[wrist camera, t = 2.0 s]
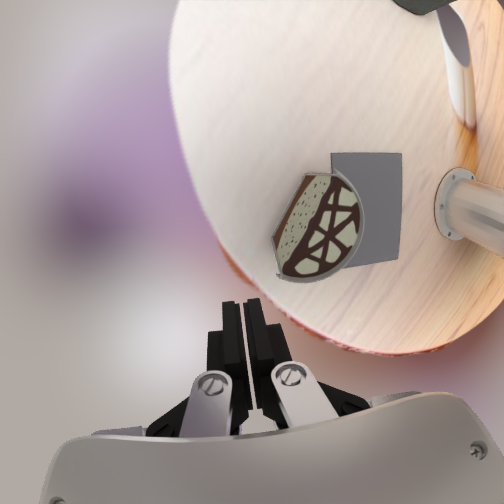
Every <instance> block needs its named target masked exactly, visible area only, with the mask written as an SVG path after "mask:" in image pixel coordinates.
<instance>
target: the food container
mask: <svg viewBox="0 0 504 504" xmlns="http://www.w3.org/2000/svg"><path fill="white" fill-rule="evenodd" d="M334 170H335V171H336V172H337V174H318V173H305V175H304V177H303V179H302V180H301V182H300V184H299V186H298V188H297V190H296V192H295V194H294V196H293V198H292V199H291V201H290V203H289V205H288V207H287V209H286V211H285V213H284V215H283V216H282V218H281V220H280V222H279V224H278V226H277V228H276V230H275V232H274V233H273V235H272V237H271V240H272V243H273V247H274V251H275V255H276V259H277V263H278V267H279V271H280V274H276V275H277V276H278V277H279V278H280V279H282V280H286V281H289V282H294V283H311V282H316V281H320V280H323V279H325V278H328V277H330V276H332V275H333V274H335V273H337V272H338V271H339V270H341V269H342V268H343V267H344V266H345V265H346V264H347V263H348V262H349V261H350V260H351V259H352V257H353V256H354V254H355V253H356V251H357V249H358V247H359V245H360V242H361V239H362V236H363V231H364V220H365V218H364V210H363V206H362V202H361V199H360V197H359V195H358V192H357V191H356V189H355V188H354V186H353V185H352V183H351V182H350V181H349V180H348V179H347V178H346V177H345V176H344V175H343V174H342V173H340V172H339V171H338V170H336V169H335V168H334Z"/></svg>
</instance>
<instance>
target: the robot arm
mask: <svg viewBox="0 0 504 504" xmlns="http://www.w3.org/2000/svg"><path fill="white" fill-rule="evenodd" d="M435 218H436V223H437V226H438V228H439V230H440V232H441V233H442V235H443V236H445V237H446V238H448V239H450V240H453V241H458V240H461V239H463V238H467V239H469V240H471V241H473V242H475V243H477V244H478V245H480V246H482V247H484V248H486V249H487V250H489V251H491V252H493V253H494V254H496V255H498V256H500V257H501V258H503V259H504V189H501V188H498V187H495V186H491V185H488V184H484V183H481V182H478V181H477V179H476V177H475V176H474V175H473V173H472V172H470V171H469V170H467V169H463V168H456V169H453V170H451V171H450V172H449V173H448V174H446V176H445V177H444V178H443V180H442V182H441V184H440V186H439V189H438V192H437V196H436V200H435ZM243 307H244V316H245V324H246V333H247V342H248V350H249V357H250V364H251V371H252V377H253V384H254V391H255V397H256V404H257V409H260V408H262V410H263V415H265V416H266V417H268V418H270V419H272V420H273V422H274V426H275V428H276V431H269V432H262V433H254V434H245V435H241V431H242V427H241V424H242V423H243V422H244V421H245V420H246V419H247V418H248V417H249V414H248V410H253V405H252V398H251V392H250V384H249V376H248V369H247V361H246V353H245V346H244V338H243V330H242V322H241V314H240V306H239V303H238V304H235V303H234V301H228V302H222V311H223V312H222V314H223V330H222V331H211V332H208V347H207V372H204V373H202V374H201V375H199V376H198V377H197V378H196V379H195V381H194V383H193V386H192V389H191V393H190V396H189V397H188V398H186V399H185V400H184V401H182V402H181V403H180V404H178V405H177V406H176V407H174V408H173V409H171V410H170V411H169V412H167V413H166V414H164V415H163V416H161V417H160V418H159V419H157V420H156V421H154V422H153V423H152V424H151V425H150V426H149V427H148V428H142V426H139V427H130V428H121V429H111V430H100V431H96V432H94V433H93V434H91V435H89V436H83V437H78V438H74V439H71V440H69V441H66V442H65V443H63V444H62V445H61V446H60V447H59V448H58V450H57V451H56V453H55V455H54V457H53V459H52V461H51V463H50V465H49V468H48V471H47V474H46V477H45V481H44V484H43V488H42V492H41V496H40V501H39V504H504V456H503V454H502V453H501V451H500V449H499V448H498V446H497V444H496V443H495V441H494V439H493V438H492V436H491V434H490V433H489V431H488V430H487V429H486V427H485V426H484V424H483V423H482V421H481V420H480V419H479V418H478V416H477V415H476V413H474V411H473V410H472V409H471V408H470V407H469V405H468V404H466V402H464V401H463V400H462V399H461V398H460V397H458V396H457V395H454V394H452V393H447V392H430V393H420V392H417V391H412V392H406V393H399V394H393V395H386V396H378V397H371V399H370V400H364V399H363V398H361V397H358V396H356V395H353V394H350V393H347V392H345V391H342V390H339V389H336V388H334V387H331V386H329V385H326V384H323V383H321V382H318V381H316V379H315V378H314V376H313V374H312V373H311V371H310V370H309V368H308V367H307V366H306V365H304V364H302V363H300V362H296V361H292V358H291V355H290V352H289V348H288V345H287V342H286V339H285V336H284V333H283V330H282V327H281V324H280V323H279V324H272V325H266V323H265V319H264V315H263V311H262V307H261V303H260V299H259V298H254V299H248V301H247V303H243Z"/></svg>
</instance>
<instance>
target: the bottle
mask: <svg viewBox="0 0 504 504" xmlns="http://www.w3.org/2000/svg"><path fill="white" fill-rule="evenodd" d="M394 1H395V2H396V3H397V4H398V5H400V6H402V7H404V8H405V9H407V10H409V11H411V12H413V13H416V14H421V15H425V14H427V13H429V12H431V11H433V10H435V9H438V8H440V7H442V6H444V5H447V4H449V3H451V2H454V1H456V0H394Z"/></svg>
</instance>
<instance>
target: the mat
mask: <svg viewBox="0 0 504 504" xmlns="http://www.w3.org/2000/svg"><path fill="white" fill-rule="evenodd" d="M331 165H332V174H337V172H336V171H335V170H334V168H335V169H336V170H338V171H339V172H340V173H342V174H343V175H344V176H345V177H346V178H347V179H348V180H349V181H350V182H351V183H352V185H353V186H354V188H355V189H356V191H357V192H358V195H359V197H360V199H361V202H362V206H363V210H364V218H365V220H364V231H363V236H362V239H361V242H360V245H359V247H358V249H357V251H356V253H355V254H354V256H353V257H352V259H351V260H350V261H349V262H348V263H347V264H346V265H345V266H344V267H343V268H349V267H355V266H361V265H367V264H373V263H378V262H384V261H390V260H395V259H398V253H399V243H400V230H401V213H402V154H401V153H331ZM343 268H342V269H343Z"/></svg>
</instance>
